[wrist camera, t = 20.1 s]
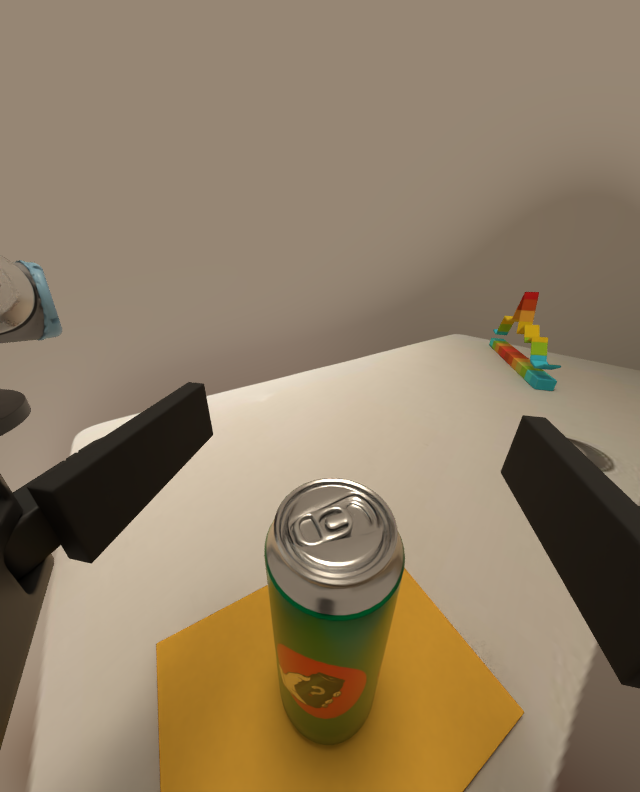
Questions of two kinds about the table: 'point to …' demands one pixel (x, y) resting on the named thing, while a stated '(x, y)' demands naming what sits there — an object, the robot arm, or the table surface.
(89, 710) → the table surface
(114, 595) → the table surface
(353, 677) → the soda can
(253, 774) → the orange flat board
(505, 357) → the chart
